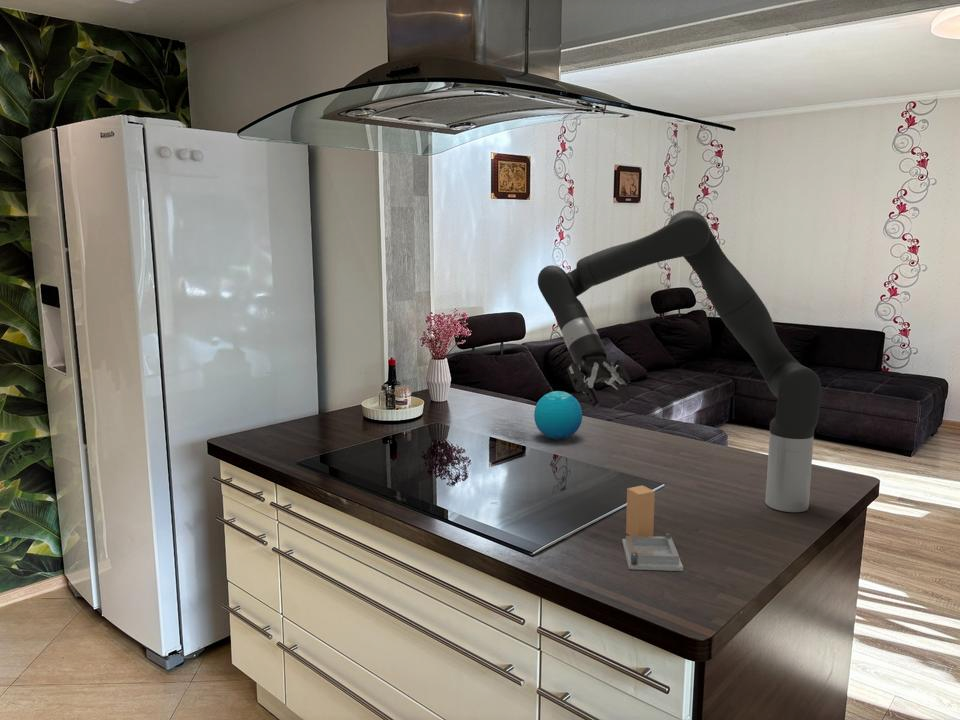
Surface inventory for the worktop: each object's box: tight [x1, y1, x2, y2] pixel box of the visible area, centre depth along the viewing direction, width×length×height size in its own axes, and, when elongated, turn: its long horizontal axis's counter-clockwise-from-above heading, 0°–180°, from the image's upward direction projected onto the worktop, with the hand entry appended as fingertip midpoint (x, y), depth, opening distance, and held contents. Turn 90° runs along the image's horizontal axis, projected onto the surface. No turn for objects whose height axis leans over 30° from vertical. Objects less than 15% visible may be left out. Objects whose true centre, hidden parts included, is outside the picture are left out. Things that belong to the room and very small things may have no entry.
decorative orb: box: [533, 390, 583, 440], centre depth 219 cm, size 15×15×15 cm
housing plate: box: [621, 532, 684, 572], centre depth 138 cm, size 12×10×3 cm
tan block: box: [625, 485, 656, 536], centre depth 148 cm, size 4×4×10 cm
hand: (612, 404), depth 152 cm, fingers open, 8 cm apart
